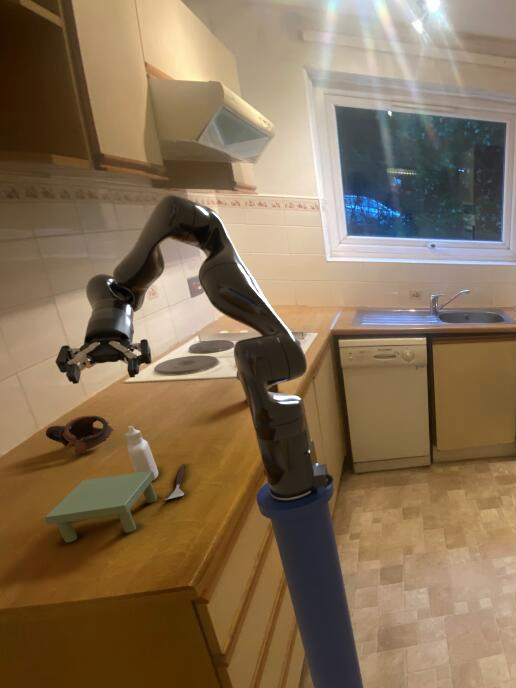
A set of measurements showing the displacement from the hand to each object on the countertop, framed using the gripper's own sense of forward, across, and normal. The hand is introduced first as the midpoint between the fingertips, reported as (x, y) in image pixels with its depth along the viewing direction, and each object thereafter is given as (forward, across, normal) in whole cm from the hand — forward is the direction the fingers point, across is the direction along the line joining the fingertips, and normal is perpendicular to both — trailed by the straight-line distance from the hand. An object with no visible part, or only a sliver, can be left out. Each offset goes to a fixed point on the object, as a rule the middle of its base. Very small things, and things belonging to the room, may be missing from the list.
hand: (103, 377), depth 86 cm
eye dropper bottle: (+11, +3, +20) cm, 23 cm away
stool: (+24, -1, +15) cm, 28 cm away
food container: (-22, +26, +30) cm, 45 cm away
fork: (+17, +9, +17) cm, 26 cm away
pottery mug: (-11, -11, +28) cm, 32 cm away
